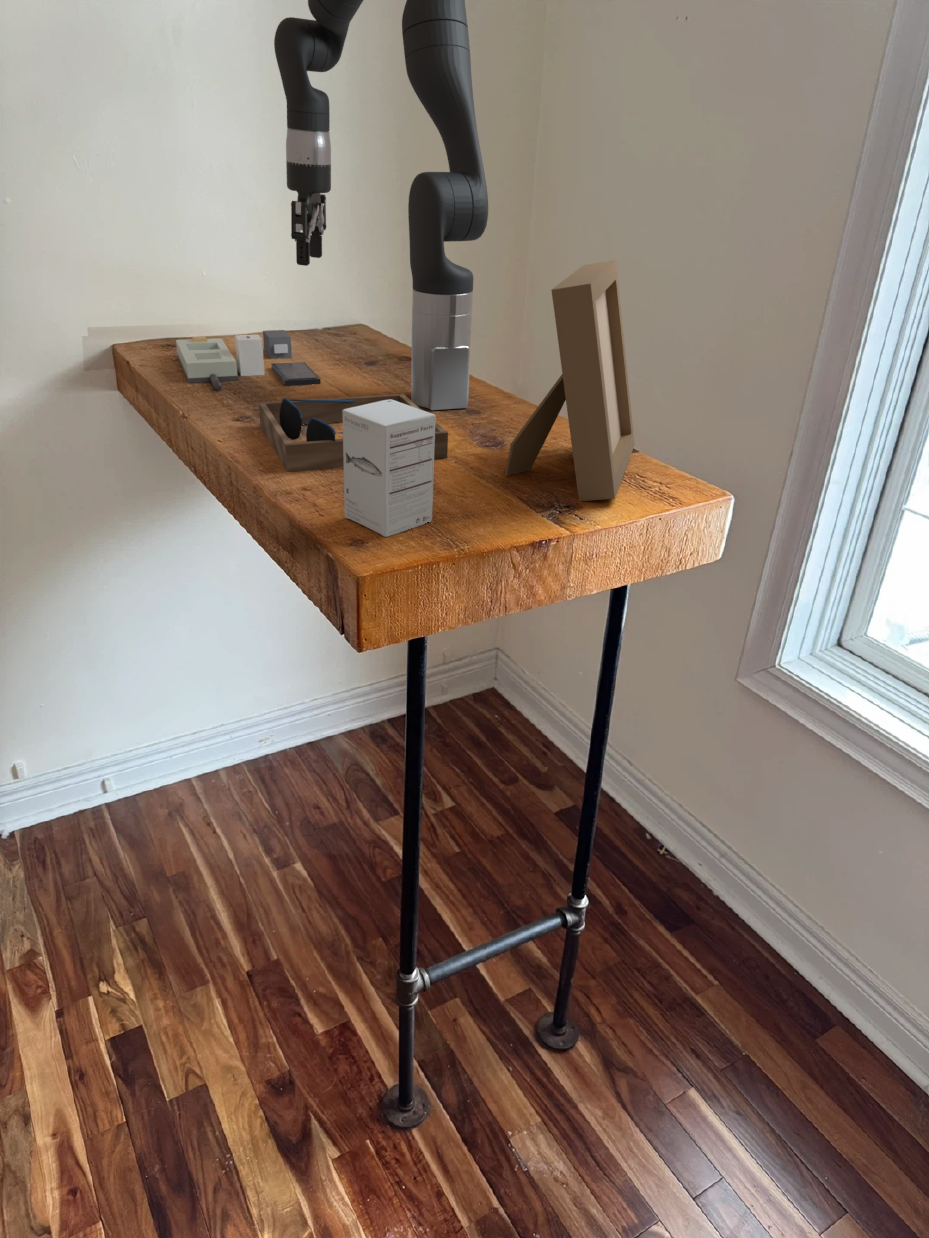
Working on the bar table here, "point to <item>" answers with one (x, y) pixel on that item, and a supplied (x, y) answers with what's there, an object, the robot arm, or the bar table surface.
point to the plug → (277, 344)
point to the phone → (295, 374)
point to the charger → (249, 355)
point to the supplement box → (388, 466)
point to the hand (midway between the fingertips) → (309, 261)
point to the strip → (206, 361)
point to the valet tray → (325, 451)
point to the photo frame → (586, 385)
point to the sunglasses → (315, 428)
